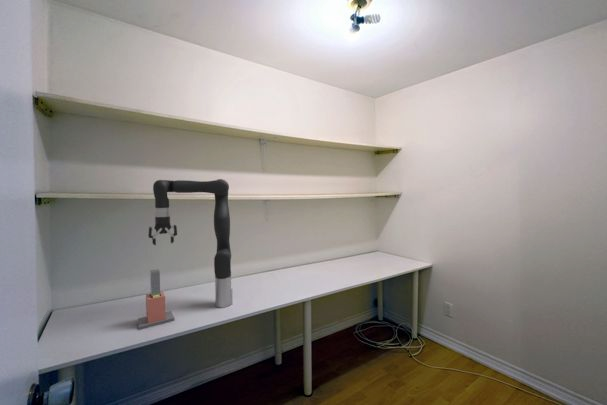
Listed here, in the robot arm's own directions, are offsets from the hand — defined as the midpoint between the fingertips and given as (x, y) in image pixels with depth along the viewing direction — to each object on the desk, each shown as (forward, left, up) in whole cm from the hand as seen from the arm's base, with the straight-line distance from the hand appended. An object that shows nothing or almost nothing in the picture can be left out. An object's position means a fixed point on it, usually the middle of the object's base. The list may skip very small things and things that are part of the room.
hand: (163, 244), depth 154 cm
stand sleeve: (+6, +12, -38) cm, 40 cm away
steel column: (+6, +12, -30) cm, 33 cm away
